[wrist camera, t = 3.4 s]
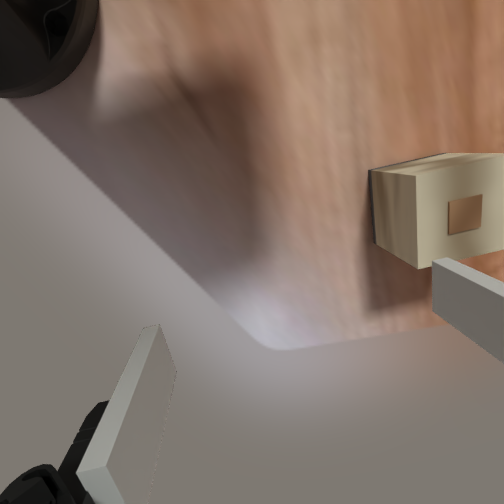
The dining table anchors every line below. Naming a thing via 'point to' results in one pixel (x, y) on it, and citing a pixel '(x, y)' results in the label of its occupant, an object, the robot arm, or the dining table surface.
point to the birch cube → (439, 207)
